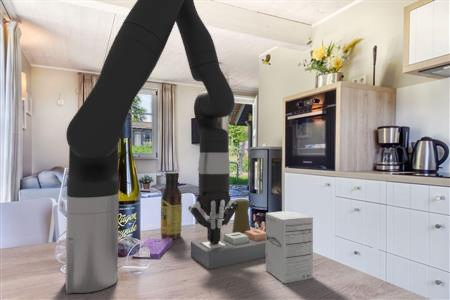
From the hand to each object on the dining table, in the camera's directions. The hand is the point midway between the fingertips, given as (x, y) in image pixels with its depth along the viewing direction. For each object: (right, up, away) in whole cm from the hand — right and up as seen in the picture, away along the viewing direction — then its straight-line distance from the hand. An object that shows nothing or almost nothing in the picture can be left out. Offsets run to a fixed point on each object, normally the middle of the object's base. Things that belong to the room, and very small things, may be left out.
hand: (214, 243), depth 70 cm
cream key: (0, -3, 0) cm, 3 cm away
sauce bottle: (-14, -4, +19) cm, 24 cm away
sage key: (+5, -1, +3) cm, 6 cm away
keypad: (+5, -4, +3) cm, 7 cm away
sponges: (-16, -5, +7) cm, 18 cm away
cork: (+8, -5, +23) cm, 25 cm away
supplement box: (+16, -4, -9) cm, 19 cm away
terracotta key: (+11, -1, +6) cm, 13 cm away
